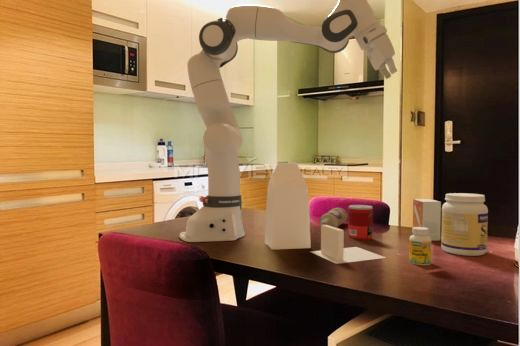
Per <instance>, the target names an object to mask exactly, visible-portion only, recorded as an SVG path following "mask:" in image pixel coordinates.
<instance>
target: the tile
mask: <svg viewBox="0 0 520 346" xmlns="http://www.w3.org/2000/svg"><path fill="white" fill-rule="evenodd" d="M344 237H345V232H344V229H341V228H339V227H337V228H335V227H332V226H329V225H320V250H321V253H322V254H325V255H327V256H329V257H332V258H334V259H336V260H343V254H344V248H345V245H344V244H345V243H344V240H345V239H344Z"/></svg>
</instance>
